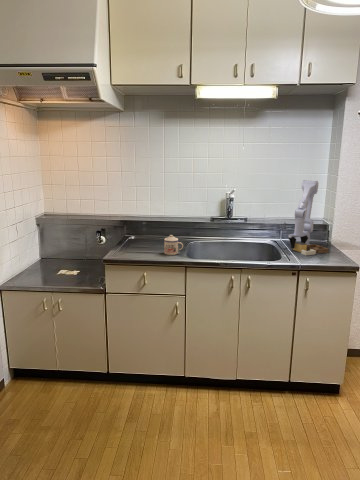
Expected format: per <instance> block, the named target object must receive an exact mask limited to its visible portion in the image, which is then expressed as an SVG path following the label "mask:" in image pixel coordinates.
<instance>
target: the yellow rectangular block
mask: <svg viewBox="0 0 360 480" xmlns="http://www.w3.org/2000/svg"><path fill="white" fill-rule="evenodd" d="M292 250H293V251H296V252H298V253H301V250H305V251H307V244H305V243H302V242H300V241H296V242H295V247H294V249H293V248H292Z"/></svg>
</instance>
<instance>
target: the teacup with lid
mask: <svg viewBox="0 0 360 480" xmlns="http://www.w3.org/2000/svg"><path fill="white" fill-rule="evenodd" d="M163 241H164V243H163V245H164V247H163V249H164V254H165V255H167V256H175V255H178V254H179V251H181V250H182V249H183V247H184V244H183V243H182V241H181V242H179V241H180V240H179V238H178V237H175V236H174V235H173V234H169V236H167V237H165V238H164V239H163ZM179 244H180V245H181V248H179Z"/></svg>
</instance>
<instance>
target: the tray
mask: <svg viewBox="0 0 360 480" xmlns="http://www.w3.org/2000/svg"><path fill="white" fill-rule="evenodd" d="M310 249H313V250H316V254H324V253H325V254H326V253H329V251H330V249H329V248H327V247H324V246H323V245H322V246H321V245H318V244H317V243H316V244H315V243H314V244H311V245H307V249H306V251H310Z"/></svg>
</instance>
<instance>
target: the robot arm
mask: <svg viewBox="0 0 360 480" xmlns="http://www.w3.org/2000/svg"><path fill="white" fill-rule="evenodd" d="M301 189H302V198H301V199H300V200H299V202H298V205H297V208H296V209H295V211H294V232H293V233H291V234H290V233H289V234H288V240H289V242H290V246H291V249H292V250H293V249H294V247H295V242H296V241H300V242H302V243H305V244H307V245H312V243H310V238H311V233H312V232H313V231H314V223H315V222H314V221H313V219H311V214H312V208H313V207H312V206H313V202H314V197H315V195H317V194H318V191H319V181H318V180H305V179H304V180H302V182H301Z"/></svg>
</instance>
